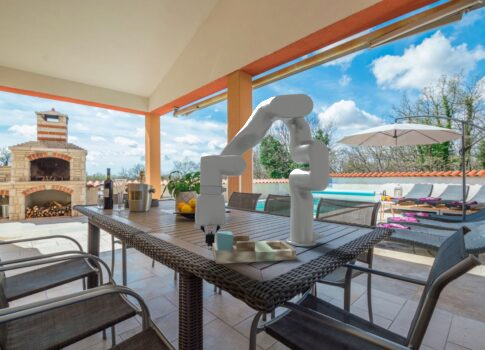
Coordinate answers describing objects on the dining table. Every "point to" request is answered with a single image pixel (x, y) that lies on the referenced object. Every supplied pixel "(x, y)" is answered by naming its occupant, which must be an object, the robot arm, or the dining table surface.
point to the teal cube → (224, 240)
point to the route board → (253, 251)
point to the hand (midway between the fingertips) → (209, 245)
